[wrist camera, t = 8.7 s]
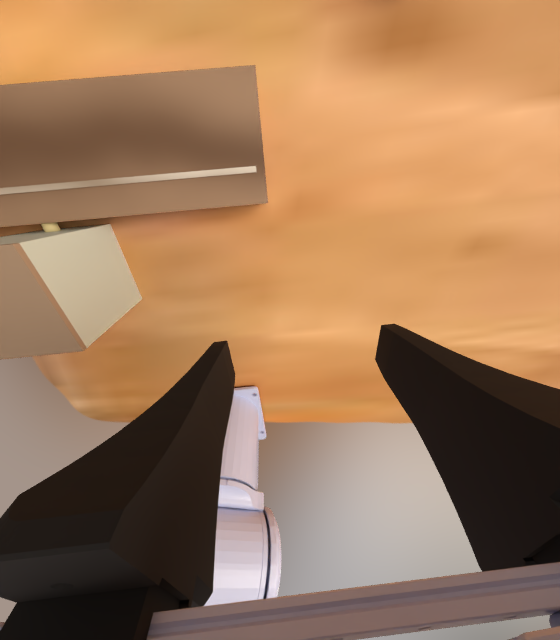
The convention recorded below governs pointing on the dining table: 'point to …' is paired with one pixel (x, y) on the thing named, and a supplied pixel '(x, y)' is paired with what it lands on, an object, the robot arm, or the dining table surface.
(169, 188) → the tan rectangular bar
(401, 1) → the dining table surface
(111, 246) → the block
